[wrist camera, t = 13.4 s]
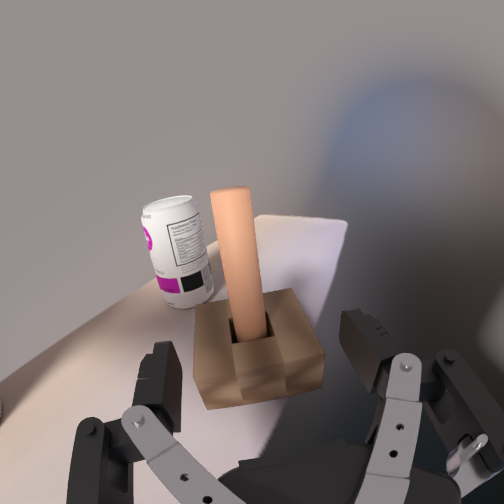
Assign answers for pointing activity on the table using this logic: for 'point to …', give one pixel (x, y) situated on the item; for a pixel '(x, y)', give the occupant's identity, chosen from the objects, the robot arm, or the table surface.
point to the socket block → (255, 354)
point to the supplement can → (178, 251)
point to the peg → (240, 260)
